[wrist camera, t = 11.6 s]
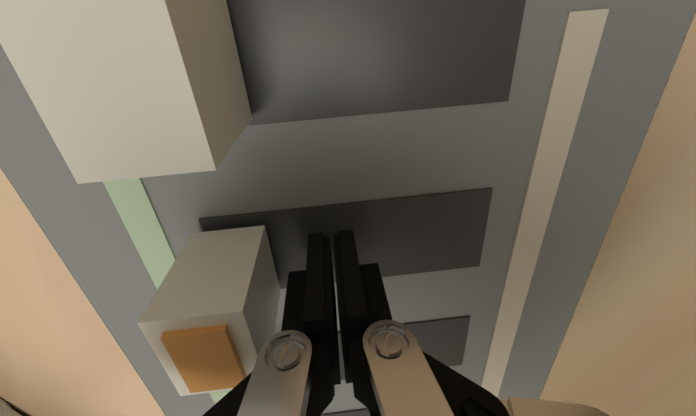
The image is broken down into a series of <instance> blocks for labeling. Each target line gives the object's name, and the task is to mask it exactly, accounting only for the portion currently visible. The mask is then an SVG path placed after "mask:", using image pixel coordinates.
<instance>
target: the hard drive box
mask: <svg viewBox="0 0 696 416" xmlns="http://www.w3.org/2000/svg"><path fill="white" fill-rule="evenodd" d="M0 416H23V415H21V414H19V413H18V412H16V411H15V410H13V409H12V408H11V407H10V405H9V404H8V403H7V402H5V401H3V400H2V399H0Z"/></svg>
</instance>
